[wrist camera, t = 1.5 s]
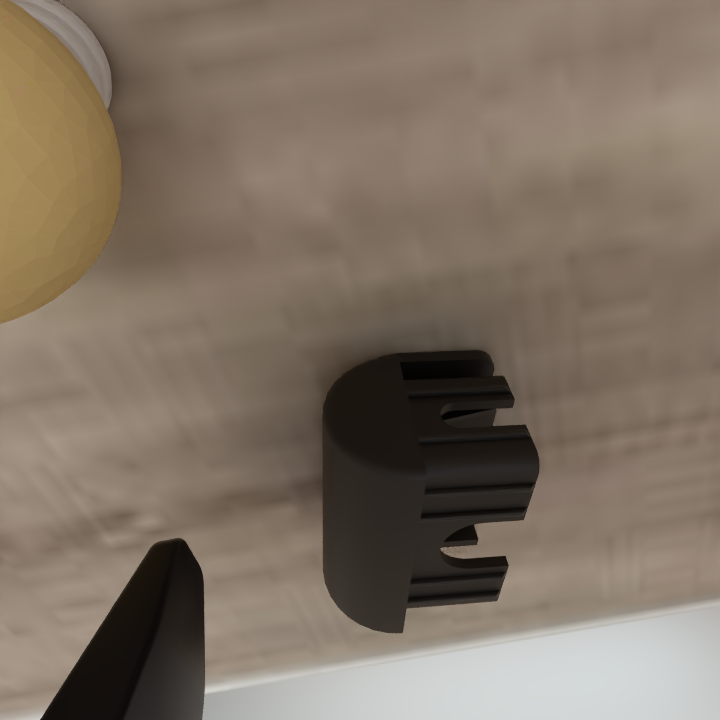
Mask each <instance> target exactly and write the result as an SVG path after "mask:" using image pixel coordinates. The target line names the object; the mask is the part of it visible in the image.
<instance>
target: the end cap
mask: <svg viewBox="0 0 720 720" xmlns="http://www.w3.org/2000/svg"><path fill="white" fill-rule="evenodd" d="M493 372H494V365H493V362H492V360H491V357H490V356H489V355H488V354H487V353H486V352H484V351H478V350H475V351H449V352H422V353H398V354H393V355H388V356H383V357H379V358H378V359H375V360H371V361H368V362H365V363H363V364H360V365H358V366H356V367H354V368H352V369H351V370H349V371H347V372H346V373H344V374H343V375H342V376H341V377H340V378H339V379H338V380H337V381H336V382H335V383H334V384H333V386H332V387H331V389H330V390H329V392H328V393H327V396H326V399H325V402H324V405H323V418H322V422H323V574H324V579H325V584H326V587H327V589H328V591H329V594H330V596H331V598H332V599H333V601H334V602H335V603H336V605H337V606H338V608H339V609H340V610H341V611H343V612H344V613H345V614H346V615H347V616H348V617H349V618H351V619H352V620H354V621H355V622H357V623H358V624H360V625H362V626H365V627H367V628H370V629H372V630H376V631H381V632H386V633H403V627H404V621H405V614H406V608H419V607H431V606H443V605H455V604H468V603H480V602H492V601H497V600H498V597H499V594H500V591H501V588H502V585H503V582H504V579H505V576H506V573H507V569H508V566H509V565H508V562H507V559H506V556H498V557H485V558H471V559H461V558H454V557H450V556H448V555H446V554H444V553H443V552H442V551H441V550H440V548H441V547H454V546H467V545H477V542H478V537H477V534H476V530H475V527H474V524H478V523H488V522H502V521H517V520H524V518H525V514H526V511H527V508H528V505H529V502H530V499H531V496H532V493H533V490H534V487H535V484H536V481H537V478H538V474H539V457H538V453H537V450H536V447H535V445H534V443H533V440H532V438H531V436H530V433H529V431H528V429H527V427H526V425H509V426H493V422H494V418H495V413H496V409H497V408H513V404H514V400H515V399H514V397H513V395H512V392H511V390H510V388H509V386H508V383H507V381H506V379H505V377H504V376H493Z"/></svg>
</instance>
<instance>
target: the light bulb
mask: <svg viewBox="0 0 720 720" xmlns="http://www.w3.org/2000/svg"><path fill="white" fill-rule="evenodd" d="M111 97H112V80H111V70H110V67H109V63H108V60H107V58H106V55H105V53H104V50H103V48H102V47H101V45H100V43H99V42H98V40H97V38H96V37H95V35H94V34H93V33H92V31H91V30H90V29H89V28H88V26H87V25H86V24H85V23H84V22H83V21H82V20H81V19H80V18H78V17H77V16H76V15H75V14H74V13H73V12H72V11H70V10H69V9H67V8H66V7H64V6H63V5H61V4H59V3H58V2H56V1H54V0H0V324H1V323H4V322H7V321H10V320H13V319H16V318H19V317H21V316H23V315H26V314H28V313H30V312H32V311H34V310H36V309H38V308H40V307H41V306H43V305H45V304H47V303H48V302H50V301H52V300H54V299H55V298H57V297H58V296H59V295H60V294H62V293H63V292H64V291H66V290H67V289H68V288H69V287H71V286H72V285H73V284H74V283H76V282H77V281H78V280H79V279H80V278H81V276H82V275H83V274H84V273H85V272H86V271H87V270H88V269H89V267H90V266H91V265H92V264H93V263H94V262H95V260H96V259H97V257H98V256H99V254H100V253H101V251H102V249H103V247H104V246H105V244H106V242H107V240H108V238H109V236H110V234H111V231H112V228H113V226H114V223H115V220H116V217H117V213H118V209H119V204H120V196H121V188H122V174H121V158H120V152H119V148H118V143H117V139H116V135H115V130H114V126H113V123H112V121H111V119H110V116H109V114H108V112H107V110H108V107H109V105H110V101H111Z"/></svg>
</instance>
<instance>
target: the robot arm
mask: <svg viewBox="0 0 720 720" xmlns="http://www.w3.org/2000/svg"><path fill="white" fill-rule="evenodd" d="M204 691H205V636H204V581H203V574H202V570H201V568H200V565H199V564H198V562H197V560H196V559H195V557H194V555H193V553H192V552H191V550H190V548H189V546H188V545H187V543H186V542H185V541H184V540H183V539H181V538H176V539H170V540H165V541H159V542H157V543H155V544H154V545H153V546H152V547H151V548H150V549H149V551H148V552H147V554H146V556H145V557H144V559H143V560H142V562H141V563H140V565H139V567H138V568H137V570H136V571H135V573H134V574H133V576H132V577H131V579H130V581H129V582H128V584H127V585H126V587H125V588H124V590H123V591H122V593H121V595H120V596H119V598H118V599H117V601H116V602H115V604H114V605H113V607H112V609H111V610H110V612H109V613H108V615H107V616H106V618H105V620H104V621H103V623H102V624H101V626H100V627H99V629H98V630H97V632H96V634H95V635H94V637H93V638H92V640H91V641H90V643H89V644H88V646H87V648H86V649H85V651H84V652H83V654H82V655H81V657H80V658H79V660H78V662H77V663H76V665H75V666H74V668H73V669H72V671H71V673H70V674H69V676H68V677H67V679H66V680H65V682H64V683H63V685H62V687H61V688H60V690H59V691H58V693H57V694H56V696H55V697H54V699H53V701H52V702H51V704H50V705H49V707H48V708H47V710H46V711H45V713H44V715H43V716H42V718H41V719H40V720H202V714H203V705H204Z"/></svg>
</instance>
